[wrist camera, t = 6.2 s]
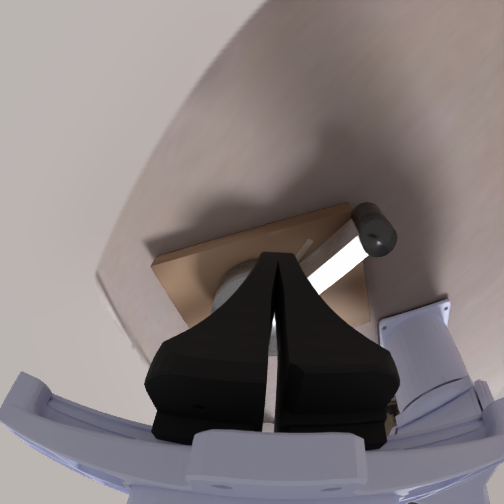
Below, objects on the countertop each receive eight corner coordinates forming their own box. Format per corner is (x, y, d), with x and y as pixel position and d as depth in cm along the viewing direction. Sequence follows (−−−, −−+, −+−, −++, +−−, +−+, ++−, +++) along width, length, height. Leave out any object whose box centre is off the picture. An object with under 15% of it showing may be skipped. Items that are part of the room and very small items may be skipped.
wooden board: (367, 310, 25) (370, 322, 23) (209, 342, 29) (206, 354, 27) (348, 202, 20) (354, 211, 18) (156, 256, 24) (149, 267, 22)
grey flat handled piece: (269, 346, 26) (267, 374, 23) (197, 300, 23) (187, 328, 20) (407, 242, 19) (424, 268, 16) (338, 164, 17) (350, 180, 14)
